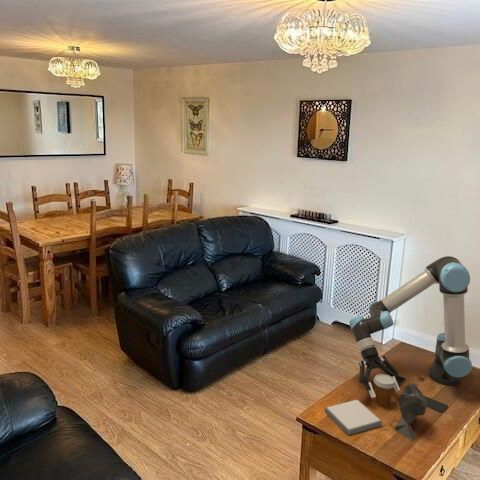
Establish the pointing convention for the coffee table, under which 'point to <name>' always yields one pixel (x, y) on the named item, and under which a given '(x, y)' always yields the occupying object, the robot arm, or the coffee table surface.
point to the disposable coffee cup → (383, 389)
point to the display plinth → (353, 417)
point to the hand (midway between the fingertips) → (385, 394)
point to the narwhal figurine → (410, 409)
